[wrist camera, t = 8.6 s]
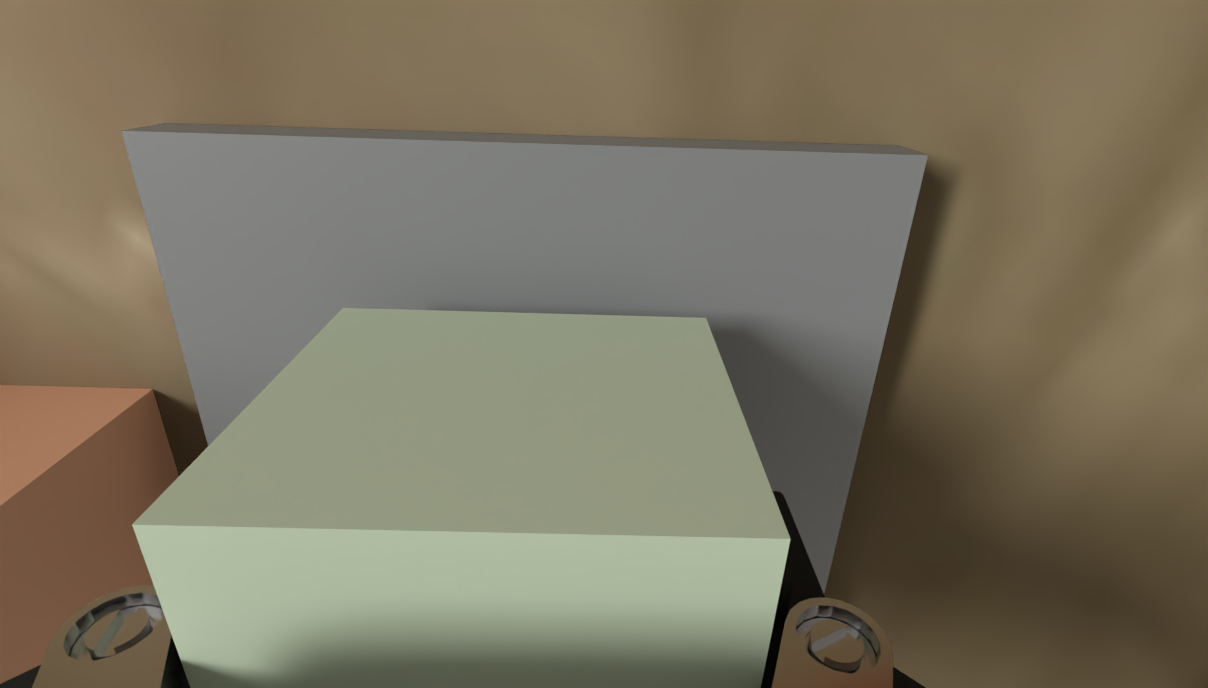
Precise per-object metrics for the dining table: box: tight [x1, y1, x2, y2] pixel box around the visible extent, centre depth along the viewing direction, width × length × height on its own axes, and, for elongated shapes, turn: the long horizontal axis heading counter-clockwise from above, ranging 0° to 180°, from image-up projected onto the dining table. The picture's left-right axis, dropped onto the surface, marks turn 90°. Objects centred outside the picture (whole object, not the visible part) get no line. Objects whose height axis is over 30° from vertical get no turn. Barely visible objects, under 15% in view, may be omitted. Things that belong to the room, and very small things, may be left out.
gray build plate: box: [122, 123, 928, 594], centre depth 14 cm, size 12×14×1 cm
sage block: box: [132, 308, 790, 688], centre depth 10 cm, size 6×6×6 cm
